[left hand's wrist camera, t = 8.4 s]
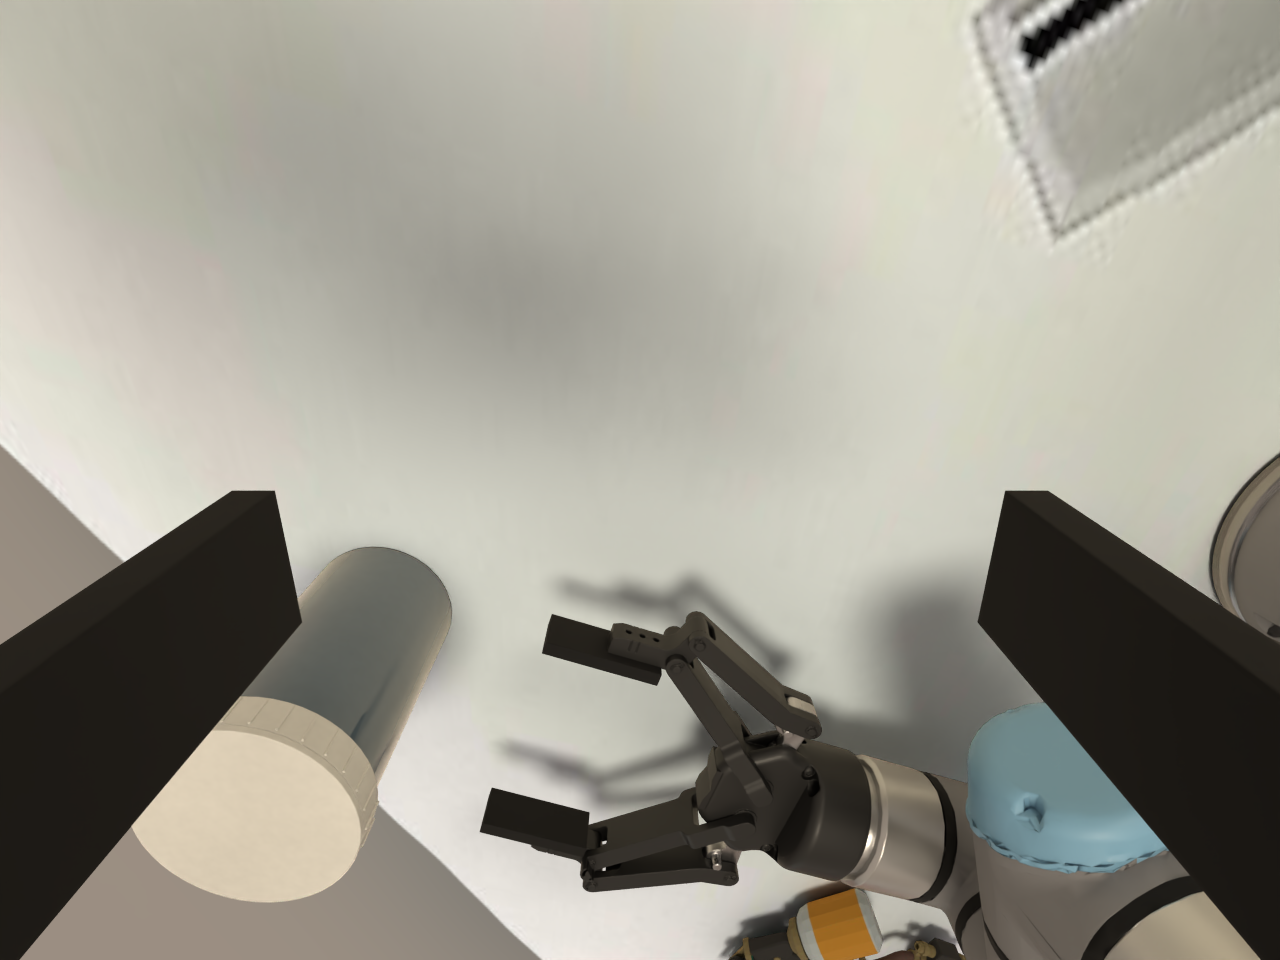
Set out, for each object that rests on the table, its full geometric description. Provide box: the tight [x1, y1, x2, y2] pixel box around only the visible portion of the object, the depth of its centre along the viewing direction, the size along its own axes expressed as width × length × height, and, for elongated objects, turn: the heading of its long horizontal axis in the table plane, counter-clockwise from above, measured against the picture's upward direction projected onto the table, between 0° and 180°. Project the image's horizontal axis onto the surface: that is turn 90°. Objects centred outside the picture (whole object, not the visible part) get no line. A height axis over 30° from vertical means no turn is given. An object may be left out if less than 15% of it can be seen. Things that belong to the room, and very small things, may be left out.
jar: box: [241, 547, 452, 787], centre depth 36 cm, size 9×9×16 cm
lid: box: [131, 696, 379, 902], centre depth 29 cm, size 10×10×2 cm
